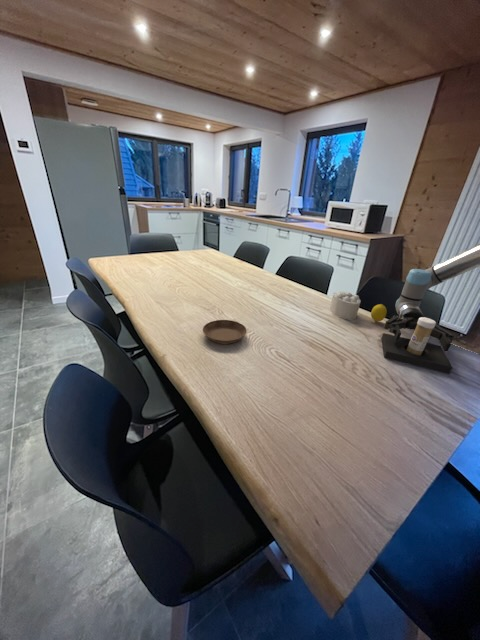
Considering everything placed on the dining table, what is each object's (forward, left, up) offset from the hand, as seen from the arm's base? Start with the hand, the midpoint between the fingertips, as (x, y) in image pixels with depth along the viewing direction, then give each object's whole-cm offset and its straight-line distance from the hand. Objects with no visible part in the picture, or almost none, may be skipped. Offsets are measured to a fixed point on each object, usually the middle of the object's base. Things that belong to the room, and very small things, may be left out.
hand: (422, 342), depth 81 cm
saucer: (+60, +16, -7) cm, 62 cm away
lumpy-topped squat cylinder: (+23, -29, -7) cm, 38 cm away
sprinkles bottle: (0, -3, -7) cm, 8 cm away
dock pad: (0, -4, -7) cm, 8 cm away
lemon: (+10, -27, -7) cm, 30 cm away
